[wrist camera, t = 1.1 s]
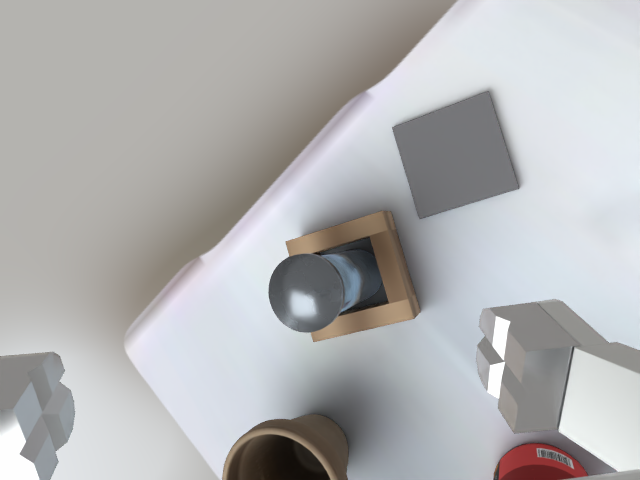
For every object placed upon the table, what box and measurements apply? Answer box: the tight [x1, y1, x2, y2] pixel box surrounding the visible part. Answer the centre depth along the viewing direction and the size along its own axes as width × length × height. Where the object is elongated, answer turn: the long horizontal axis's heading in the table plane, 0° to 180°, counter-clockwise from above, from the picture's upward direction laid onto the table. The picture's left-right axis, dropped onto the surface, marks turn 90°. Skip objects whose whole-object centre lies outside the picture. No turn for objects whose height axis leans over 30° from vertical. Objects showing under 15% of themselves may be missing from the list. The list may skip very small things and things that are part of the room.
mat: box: [392, 91, 519, 219], centre depth 46 cm, size 9×9×1 cm
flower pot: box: [222, 414, 348, 480], centre depth 47 cm, size 12×11×10 cm
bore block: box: [286, 211, 420, 342], centre depth 48 cm, size 10×10×4 cm
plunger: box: [269, 250, 382, 332], centre depth 43 cm, size 6×6×14 cm
